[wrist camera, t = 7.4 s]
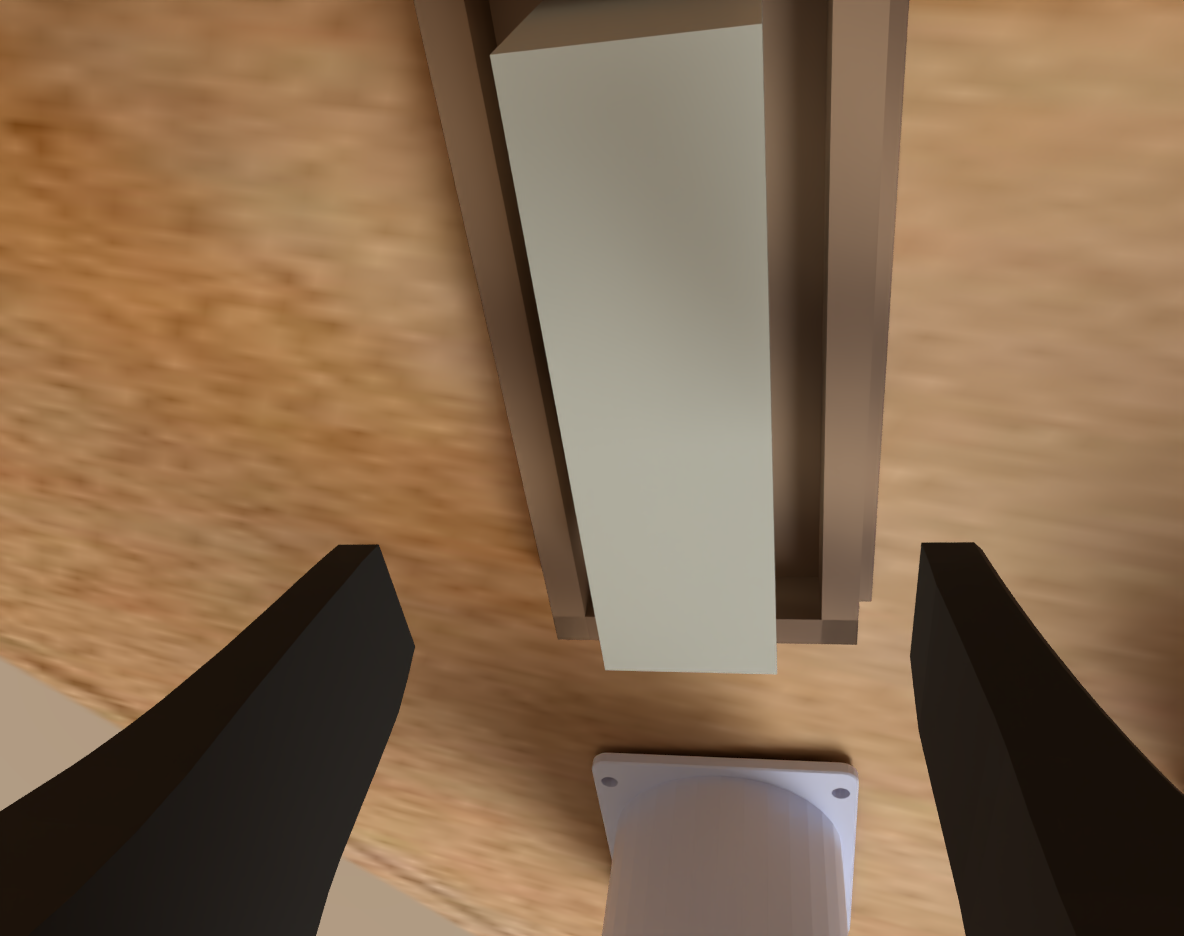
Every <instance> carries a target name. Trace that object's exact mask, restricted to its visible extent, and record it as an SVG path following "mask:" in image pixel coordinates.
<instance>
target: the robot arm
mask: <svg viewBox="0 0 1184 936" xmlns="http://www.w3.org/2000/svg"><path fill="white" fill-rule="evenodd" d="M414 649H415V645H414V642H413V639H412V636H411V634H410V631H409V628H408V625H407V622H406V620H405V617H404V614H403V611H402V608H401V606H400V603H399V600H398V597H397V594H396V592H395V589H394V586H393V583H392V580H391V578H390V575H389V572H388V569H387V566H386V564H385V561H384V558H383V555H382V552H381V549H380V547H379V545H338V546H337V547H335V548H334V549H333V550H332V551H331V552H329V553H328V554H327V555H326V556H325V557H324V558H322V559H321V560H320V561H319V562H318V563H317V564H316V565H315V566H314V567H312V568H311V569H310V570H309V571H308V572H307V573H306V574H305V575H304V576H303V577H301V578H300V579H299V580H298V581H297V582H296V583H295V584H294V585H293V586H292V587H291V588H290V589H288V590H287V591H286V592H285V593H284V594H283V595H282V596H281V597H280V598H279V599H278V600H277V601H275V602H274V603H273V604H272V605H271V606H270V607H269V608H268V609H267V610H266V611H264V612H263V613H262V614H261V615H260V616H259V617H258V618H257V619H256V620H255V621H253V622H252V623H251V624H250V625H249V626H248V627H247V628H246V629H245V630H243V631H242V632H241V633H240V634H239V635H238V636H237V637H236V638H235V639H233V640H232V641H231V642H230V643H229V644H228V645H227V646H226V647H225V648H223V649H222V650H221V651H220V652H219V653H218V654H216V655H215V656H214V657H213V658H212V659H210V660H209V661H208V662H207V663H206V664H204V665H203V666H202V667H201V668H200V669H198V670H197V671H196V672H195V673H194V674H192V675H191V676H190V677H189V678H188V679H186V680H185V681H184V682H183V683H182V684H180V685H179V686H178V687H177V688H176V689H174V690H173V691H172V692H171V693H170V694H168V695H167V696H166V697H165V698H164V699H163V700H161V701H160V702H159V703H157V704H156V705H155V706H154V707H152V708H151V709H150V710H149V711H147V712H146V713H145V714H143V715H142V716H141V717H139V718H138V719H137V720H135V721H134V722H133V723H131V724H130V725H129V726H127V727H126V728H125V729H123V730H122V731H121V732H119V733H118V734H116V735H115V736H114V737H113V738H111V739H110V740H108V741H107V742H106V743H104V744H103V745H101V746H100V747H98V748H97V749H96V750H94V751H93V752H91V753H90V754H89V755H87V756H86V757H84V758H83V759H81V760H80V761H78V762H77V763H75V764H74V765H72V766H71V767H69V768H68V769H66V770H65V771H63V772H61V773H60V774H58V775H57V776H56V777H54V778H52V779H51V780H49V781H47V782H46V783H44V784H43V785H41V786H40V787H38V788H36V789H35V790H33V791H32V792H30V793H28V794H27V795H25V796H24V797H22V798H21V799H19V800H17V801H16V802H14V803H13V804H11V805H10V806H8V807H6V808H5V809H3V810H2V811H0V936H316V934H317V930H318V927H319V923H320V920H321V916H322V913H323V909H324V906H325V903H326V899H327V896H328V892H329V889H330V887H331V884H332V881H333V878H334V875H335V872H336V870H337V867H338V864H339V861H340V858H341V856H342V853H343V851H344V848H345V846H346V844H347V841H348V839H349V836H350V834H351V831H352V829H353V826H354V824H355V821H356V819H357V816H358V814H359V811H360V809H361V806H362V804H363V801H364V799H365V796H366V794H367V791H368V789H369V786H370V784H371V782H372V779H373V777H374V774H375V772H376V769H377V767H378V764H379V762H380V759H381V757H382V754H383V751H384V749H385V746H386V744H387V741H388V739H389V736H390V734H391V731H392V729H393V726H394V723H395V721H396V718H397V715H398V713H399V709H400V705H401V701H402V698H403V694H404V690H405V687H406V683H407V679H408V674H409V670H410V666H411V662H412V657H413V653H414ZM910 660H911V669H912V678H913V687H914V696H915V704H916V712H917V720H918V728H919V734H920V738H921V743H922V747H923V752H924V756H925V760H926V764H927V769H928V773H929V777H930V781H931V786H932V790H933V794H934V798H935V803H936V807H937V811H938V815H939V819H940V824H941V828H942V832H943V836H944V840H945V845H946V849H947V853H948V857H949V861H950V866H951V870H952V874H953V878H954V882H955V887H956V891H957V895H958V899H959V904H960V909H961V914H962V919H963V924H964V929H965V934H966V936H1184V795H1183V794H1182V793H1181V792H1180V791H1179V790H1178V789H1177V788H1176V787H1175V786H1174V785H1173V784H1172V783H1171V782H1170V781H1169V780H1168V779H1167V778H1166V777H1165V776H1164V775H1163V774H1162V773H1161V772H1160V771H1159V770H1158V769H1157V768H1156V767H1155V766H1154V765H1153V764H1152V763H1151V762H1150V760H1149V759H1148V758H1147V757H1146V756H1145V755H1144V754H1143V753H1142V752H1141V751H1140V750H1139V749H1138V748H1137V747H1136V746H1135V745H1134V744H1133V743H1132V741H1131V740H1130V739H1129V738H1128V737H1127V736H1126V735H1125V734H1124V733H1123V731H1122V730H1121V729H1120V728H1119V727H1118V726H1117V725H1116V724H1115V723H1114V721H1113V720H1112V719H1111V718H1110V717H1109V716H1108V715H1107V714H1106V713H1105V711H1104V710H1103V709H1102V708H1101V707H1100V706H1099V705H1098V703H1097V702H1096V701H1095V700H1094V699H1093V698H1092V696H1091V695H1090V694H1089V693H1088V692H1087V691H1086V689H1085V688H1084V687H1083V686H1082V685H1081V683H1080V682H1079V681H1078V680H1077V679H1076V677H1075V676H1074V675H1073V674H1072V672H1071V671H1070V670H1069V669H1068V667H1067V666H1066V665H1065V664H1064V662H1063V661H1062V660H1061V659H1060V657H1059V656H1058V655H1057V654H1056V653H1055V651H1054V650H1053V649H1052V648H1051V646H1050V645H1049V644H1048V643H1047V641H1046V640H1045V639H1044V637H1043V636H1042V635H1041V633H1040V632H1039V631H1038V629H1037V628H1036V627H1035V626H1034V624H1033V623H1032V621H1031V620H1030V619H1029V617H1028V616H1027V615H1026V613H1025V612H1024V611H1023V609H1022V608H1021V606H1020V605H1019V604H1018V602H1017V601H1016V600H1015V598H1014V597H1013V595H1012V594H1011V592H1010V591H1009V590H1008V588H1007V587H1006V585H1005V584H1004V582H1003V581H1002V579H1001V578H1000V576H999V575H998V573H997V572H996V570H995V569H994V567H993V566H992V564H991V563H990V561H989V560H988V558H987V557H986V555H985V553H984V552H983V550H982V549H981V548H980V547H979V546H977V545H976V544H975V543H974V542H963V543H921V553H920V563H919V573H918V583H917V593H916V603H915V613H914V623H913V633H912V643H911V653H910ZM592 773H593V777H594V782H595V786H596V791H597V795H598V800H599V804H600V809H601V814H602V818H603V823H604V827H605V832H606V836H607V841H608V845H609V850H610V854H611V859H612V866H611V873H610V880H609V888H608V895H607V902H606V909H605V917H604V924H603V931H602V936H848V932H849V930H850V918H851V902H852V886H853V870H854V853H855V837H856V821H857V805H858V788H859V779H858V772H857V770H856V769H855V768H854V767H853V766H851V765H849V764H847V763H841V762H818V761H794V760H771V759H747V758H724V757H700V756H677V755H653V754H630V753H601V754H599V755H596V756H595V758H594V760H593V766H592Z"/></svg>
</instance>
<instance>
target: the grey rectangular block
mask: <svg viewBox="0 0 1184 936" xmlns="http://www.w3.org/2000/svg"><path fill="white" fill-rule="evenodd" d="M490 59H491V64H492V69H493V75H494V80H495V85H496V91H497V96H498V101H499V107H500V112H501V117H502V123H503V128H504V133H505V139H506V144H507V149H508V155H509V160H510V165H511V171H512V176H513V181H514V187H515V192H516V197H517V203H518V208H519V213H520V219H521V224H522V229H523V235H524V240H525V245H526V251H527V256H528V261H529V266H530V272H531V277H532V282H533V288H534V293H535V298H536V304H537V309H538V314H539V320H540V325H541V330H542V336H543V341H544V346H545V352H546V357H547V362H548V368H549V373H550V378H551V384H552V389H553V394H554V400H555V405H556V410H557V416H558V421H559V426H560V432H561V437H562V442H563V448H564V453H565V458H566V464H567V469H568V474H569V480H570V485H571V490H572V496H573V501H574V506H575V512H576V517H577V522H578V528H579V533H580V538H581V544H582V549H583V554H584V560H585V565H586V570H587V576H588V581H589V586H590V592H591V597H592V602H593V608H594V613H595V618H596V624H597V629H598V634H599V640H600V645H601V650H602V656H603V661H604V666H605V670H619V671H660V672H701V673H742V674H777V638H776V579H775V526H774V482H773V438H772V393H771V349H770V305H769V261H768V217H767V173H766V129H765V85H764V41H763V0H543V1H542V2H541V3H540V4H539V5H538V6H537V7H536V8H535V9H534V10H533V11H532V12H531V13H530V14H529V15H528V16H527V17H526V18H525V19H524V20H523V21H522V22H521V23H520V24H519V25H518V26H517V27H516V28H515V29H514V30H513V31H512V32H511V34H510V35H509V36H508V37H507V38H506V39H505V40H504V41H503V42H502V43H501V44H500V45H499V46H498V47H497V48H496V49H495V50H494V51H493V52H492V53H491V54H490Z"/></svg>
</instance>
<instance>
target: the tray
mask: <svg viewBox="0 0 1184 936" xmlns="http://www.w3.org/2000/svg"><path fill="white" fill-rule="evenodd" d="M542 1H543V0H414V5H415V9H416V14H417V18H418V22H419V27H420V31H421V36H422V40H423V45H424V49H425V53H426V58H427V62H428V67H429V71H430V75H431V80H432V84H433V89H434V93H435V98H436V102H437V106H438V111H439V115H440V120H441V124H442V129H443V133H444V137H445V142H446V146H447V151H448V155H449V159H450V164H451V168H452V173H453V177H454V182H455V186H456V190H457V195H458V199H459V204H460V208H461V213H462V217H463V221H464V226H465V230H466V235H467V239H468V244H469V248H470V252H471V257H472V261H473V266H474V270H475V274H476V279H477V283H478V288H479V292H480V297H481V301H482V305H483V310H484V314H485V319H486V323H487V328H488V332H489V336H490V341H491V345H492V350H493V354H494V358H495V363H496V367H497V372H498V376H499V381H500V385H501V389H502V394H503V398H504V403H505V407H506V412H507V416H508V420H509V425H510V429H511V434H512V438H513V442H514V447H515V451H516V456H517V460H518V465H519V469H520V473H521V478H522V482H523V487H524V491H525V496H526V500H527V504H528V509H529V513H530V518H531V522H532V526H533V531H534V535H535V540H536V544H537V549H538V553H539V557H540V562H541V566H542V571H543V575H544V580H545V584H546V588H547V593H548V597H549V602H550V606H551V611H552V615H553V619H554V624H555V628H556V633H557V637H558V639H568V640H599V634H598V629H597V624H596V618H595V613H594V608H593V602H592V597H591V592H590V586H589V581H588V576H587V570H586V565H585V560H584V554H583V549H582V544H581V538H580V533H579V528H578V522H577V517H576V512H575V506H574V501H573V496H572V490H571V485H570V480H569V474H568V469H567V464H566V458H565V453H564V448H563V442H562V437H561V432H560V426H559V421H558V416H557V410H556V405H555V400H554V394H553V389H552V384H551V378H550V373H549V368H548V362H547V357H546V352H545V346H544V341H543V336H542V330H541V325H540V320H539V314H538V309H537V304H536V298H535V293H534V288H533V282H532V277H531V272H530V266H529V261H528V256H527V251H526V245H525V240H524V235H523V229H522V224H521V219H520V213H519V208H518V203H517V197H516V192H515V187H514V181H513V176H512V171H511V165H510V160H509V155H508V149H507V144H506V139H505V133H504V128H503V123H502V117H501V112H500V107H499V101H498V96H497V91H496V85H495V80H494V75H493V69H492V64H491V59H490V54H491V53H492V52H493V51H494V50H495V49H496V48H497V47H498V46H499V45H500V44H501V43H502V42H503V41H504V40H505V39H506V38H507V37H508V36H509V35H510V34H511V32H512V31H513V30H514V29H515V28H516V27H517V26H518V25H519V24H520V23H521V22H522V21H523V20H524V19H525V18H526V17H527V16H528V15H529V14H530V13H531V12H532V11H533V10H534V9H535V8H536V7H537V6H538V5H539V4H540V3H541V2H542ZM908 10H909V0H763V41H764V85H765V129H766V173H767V217H768V261H769V305H770V349H771V393H772V438H773V482H774V526H775V579H776V638H777V643H794V644H851V645H857V632H858V613H859V601H871V600H872V584H873V568H874V552H875V536H876V520H877V504H878V488H879V472H880V457H881V441H882V425H883V409H884V393H885V377H886V361H887V345H888V329H889V313H890V297H891V281H892V265H893V249H894V233H895V218H896V202H897V186H898V170H899V154H900V138H901V122H902V106H903V90H904V74H905V58H906V42H907V26H908Z"/></svg>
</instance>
